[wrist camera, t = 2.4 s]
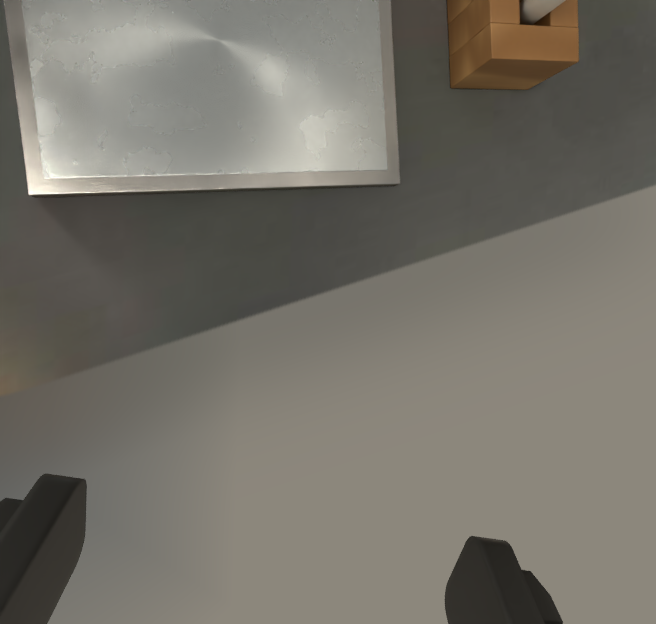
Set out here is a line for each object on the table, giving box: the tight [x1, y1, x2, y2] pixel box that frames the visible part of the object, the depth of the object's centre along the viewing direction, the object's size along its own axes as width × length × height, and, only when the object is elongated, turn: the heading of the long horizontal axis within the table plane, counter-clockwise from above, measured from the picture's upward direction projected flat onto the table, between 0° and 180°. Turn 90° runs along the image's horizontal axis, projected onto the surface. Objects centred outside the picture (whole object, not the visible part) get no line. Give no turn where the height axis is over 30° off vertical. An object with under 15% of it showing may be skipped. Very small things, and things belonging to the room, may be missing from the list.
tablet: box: [4, 0, 400, 198], centre depth 29 cm, size 17×22×1 cm
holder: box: [447, 0, 579, 90], centre depth 32 cm, size 6×6×5 cm
